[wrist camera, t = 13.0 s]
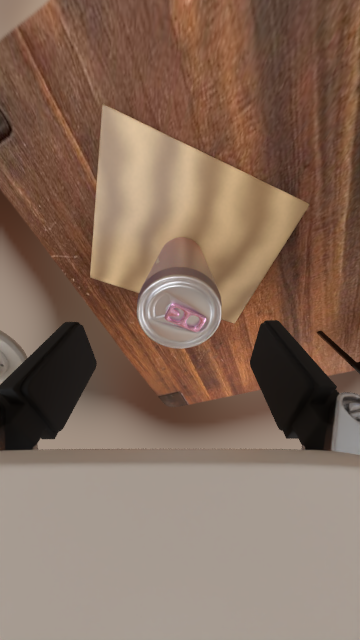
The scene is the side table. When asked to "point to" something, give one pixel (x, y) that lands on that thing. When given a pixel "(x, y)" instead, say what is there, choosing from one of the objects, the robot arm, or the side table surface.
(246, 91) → the side table surface
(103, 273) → the serving board
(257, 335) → the robot arm
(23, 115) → the side table surface
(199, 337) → the beverage can
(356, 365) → the planter
